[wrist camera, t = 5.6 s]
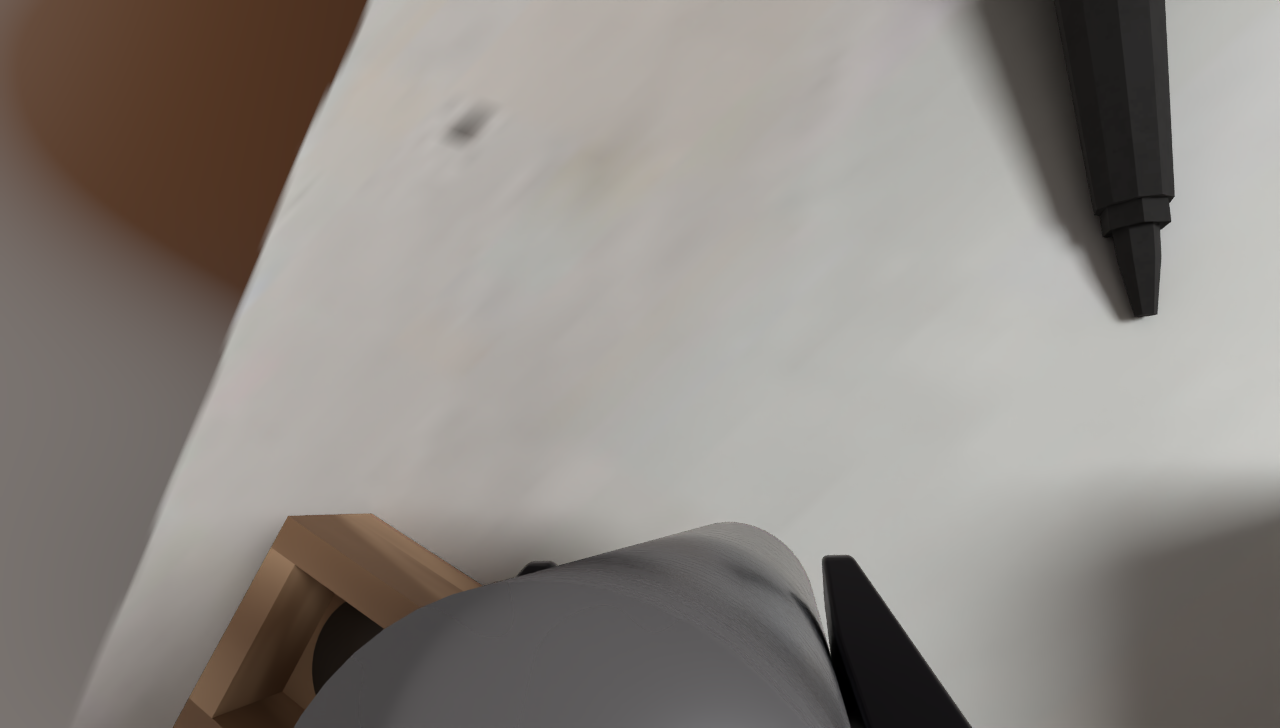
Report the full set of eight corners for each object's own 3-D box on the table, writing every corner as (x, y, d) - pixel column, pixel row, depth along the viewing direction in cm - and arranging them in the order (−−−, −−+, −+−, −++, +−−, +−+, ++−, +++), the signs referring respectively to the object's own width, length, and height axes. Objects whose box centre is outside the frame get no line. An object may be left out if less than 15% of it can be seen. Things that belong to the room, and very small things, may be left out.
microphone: (1143, 327, 23) (1090, -125, 25) (1311, 296, 18) (1226, -275, 20) (1016, 329, 23) (971, -130, 25) (1148, 299, 17) (1078, -285, 19)
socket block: (424, 813, 22) (339, 886, 18) (276, 691, 25) (170, 731, 21) (524, 613, 23) (465, 638, 19) (371, 513, 26) (288, 515, 21)
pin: (773, 726, 14) (705, 1777, 3) (627, 637, 16) (115, 1066, 4) (842, 570, 15) (1063, 843, 3) (694, 494, 16) (426, 470, 4)
